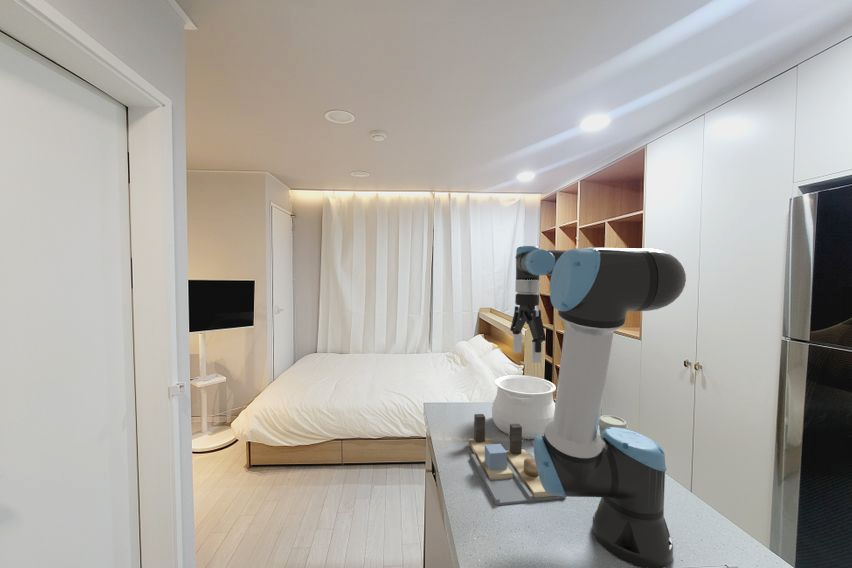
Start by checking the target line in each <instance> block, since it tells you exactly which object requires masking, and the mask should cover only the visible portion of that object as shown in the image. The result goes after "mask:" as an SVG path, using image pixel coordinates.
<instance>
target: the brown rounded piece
mask: <svg viewBox="0 0 852 568" xmlns="http://www.w3.org/2000/svg"><path fill="white" fill-rule="evenodd" d="M524 473H525V474H526V475H528V476H530V477H538V476H539V475H538V471H537V467H536V463H535V459H533V458H526V459H525V460H524Z"/></svg>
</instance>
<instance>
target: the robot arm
mask: <svg viewBox="0 0 852 568" xmlns="http://www.w3.org/2000/svg"><path fill="white" fill-rule="evenodd" d="M686 275H687V274H686V271H685V267H684V266H683V264H682V263H681V262H680V261H679V260H678V259H677V258H676V257H675V256H673V254H670V253H668V252H666V251H664V250H659V249H655V248H624V247H623V248H621V247H620V248H619V247H615V248H614V247H591V246H588V247H584V248H571V249H568V250H559V249H558V250H554V249H544V248H540V247H539V246H537V245H522V246H518V247H517V248H516V253H515V293H516V294H515V299H514V300H515V302H514V304H515V305H516V306H514V311H513V312H514V313H513V315H512V316H513V317H512V321H511V324H510V328H509V329H510V330H509V331H510V332H512V335H513V338H512V339H513V341H512V342H513V345H512V346H513V349H512V353H513V354H522V345H523V344H522V340H523V339H522V337H523V333H522V330H523V328H524V325H526V324H527V326H528V328H529V330H530V333H531V337H532V340H531V363H532V364H533V363H534V364H536V363H542V342H546V340H547V337H546V333H545V328H544V324H543V319H542V310H541V309H536V307H538V306H539V305H540V295H539V292H540V285H541V283H540V276H551V277H550V281H549V291H550V293H549V299H550V303H551V305H552V307H553V308H554V309H555V310H557V316H558V317H559V318H560V320H562V322H563V323H564V331H563V338H562V344H561V345H562V347H561V354H560V355H561V356H560V363H559V372H558V378H557V386H556V396H555V402H554V403H555V411H554V419H553V420H552V421H550V422H549V423H548V424H547V425H546V427H545V432H544V436H541V435H539V436H536V437H535V438H534V439H533V442H532V444H533V456H534V457H535V463H536V467H537V471H538V475H539V478H540V481H541V484H542V486H543V488H544V490H545V491H546V492H547V493H548V494H551V495H555V496H563V497H565V498H568V497H570V498H573V497H574V498H600V499H599V502H598V506H597V509H596V510H595V511H594V514H593V516H592V533H593V536H594V537H595V539H596V540H597V542H598V543H599V545H600V546H601V547H603V548H604V550H606V551H607V552H608V553H610V555H613V557H615V558H617V559H619V560H621V561H623V562H625V563H627V564H630V565H632V566H635V567H639V568H666V567H667V566H670V564H671V563H672V561H673V558H674V544H673V541H672V538H671V535H670V531H669V528H668V525H667V522H666V518H665V511H664V509H665V508H664V507H665V485H666V484H665V483H666V482H665V481H666V471H667V467H666V455H665V452H664V449H663V448H662V446H661V445H660V444H659V443H657V442H656V441H654V440H653V439H651V438H650V437H648V436H646V435H645V434H641V433H639V432H638V431H637V432H636V431H634V430H630V429H628V430H627V429H623V428H617V427H609V428H606V429H605V430H604V432H603V433H602V434H603V437H602V438H601V437H600V433H598V430H599V429H598V428H599V425H598V424H599V419H600V417H601V411H602V404H603V399H604V393H605V386H606V382H607V374H608V368H609V364H610V363H609V361H610V357H611V351H612V345H613V339H614V333H615V331H617V330H620V329H621V328H623V327H624V325H625V324H626V317H627V312H649V311H655V310H660V309H661V308H662V309H663V308H665V307H668V306H669V305H670V304H672V303H674V301H676V300H677V299H678V298H679V297H680V296H681V294H682V293H683V291H684V289H685V287H686V281H687V276H686Z"/></svg>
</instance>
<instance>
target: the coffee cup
mask: <svg viewBox="0 0 852 568" xmlns="http://www.w3.org/2000/svg"><path fill="white" fill-rule="evenodd" d="M609 427H617V428H623V429H627V430H629V426H628V424H627V421H626V420H624V419H623V418H621V417H619V416H616V415H609V414H607V415H605V414H604V415H600V418H599V424H598V428H599V429H598V430H599V436H600V437H601V438H602V437H603V434H602V433H603V432H604V430H605V429H606V428H609Z"/></svg>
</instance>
